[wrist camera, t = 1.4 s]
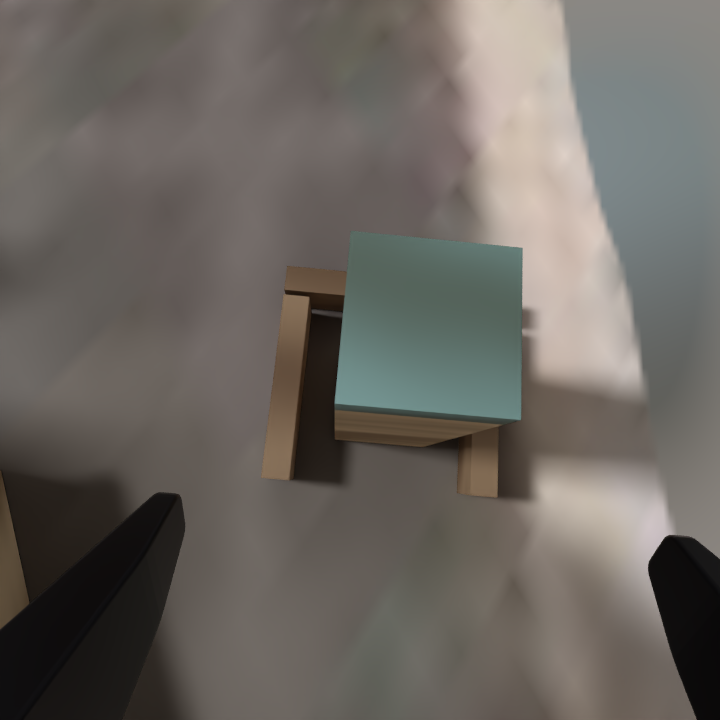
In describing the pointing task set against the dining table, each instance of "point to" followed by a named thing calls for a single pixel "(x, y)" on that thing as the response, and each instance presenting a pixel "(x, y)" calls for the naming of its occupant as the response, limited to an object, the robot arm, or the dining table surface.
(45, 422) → the dining table surface
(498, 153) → the dining table surface
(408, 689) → the dining table surface
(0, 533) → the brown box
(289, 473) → the frame
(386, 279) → the teal long block
